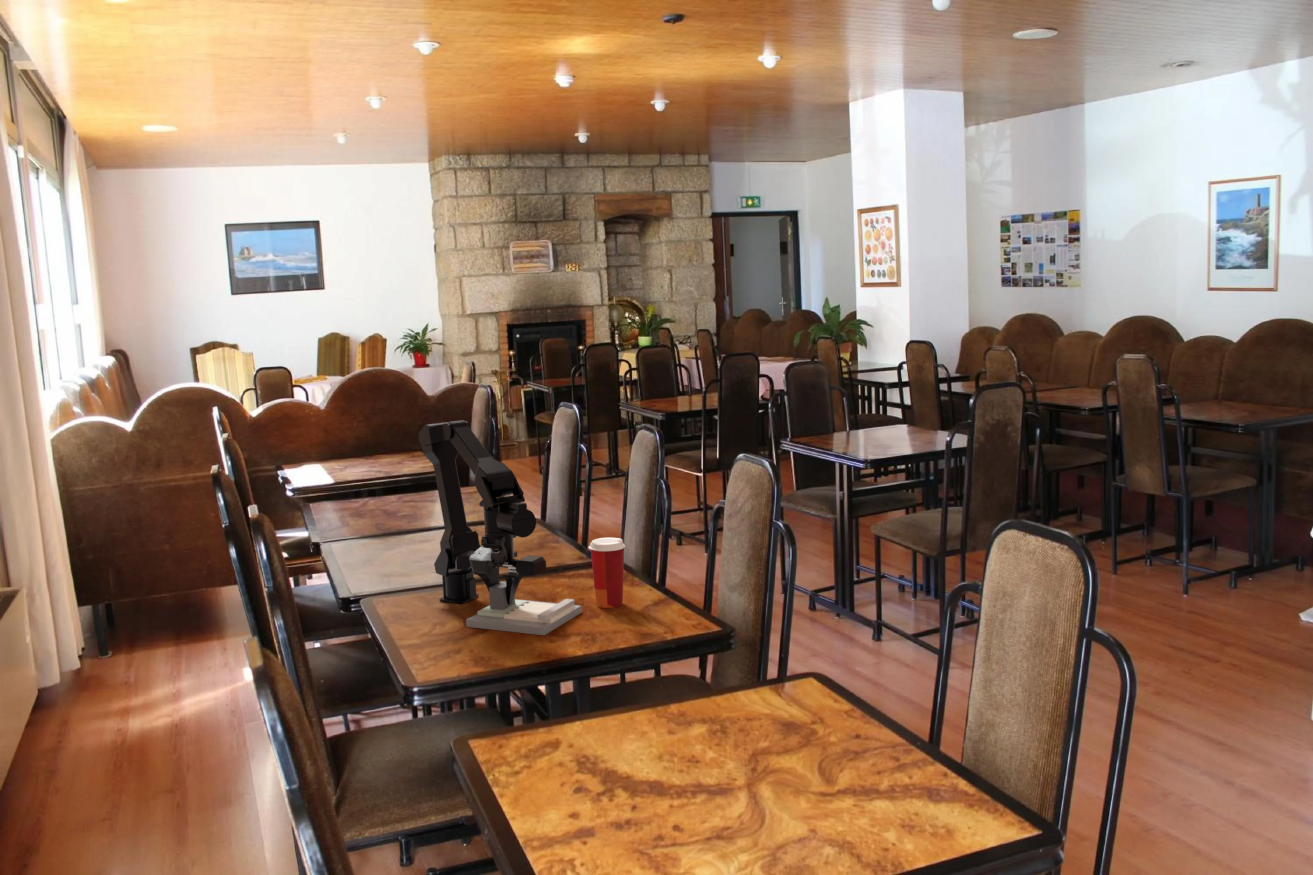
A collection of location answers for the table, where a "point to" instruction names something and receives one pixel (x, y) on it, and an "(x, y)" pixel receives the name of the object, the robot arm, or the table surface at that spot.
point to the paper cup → (608, 571)
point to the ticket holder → (530, 617)
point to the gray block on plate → (499, 602)
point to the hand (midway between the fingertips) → (502, 603)
